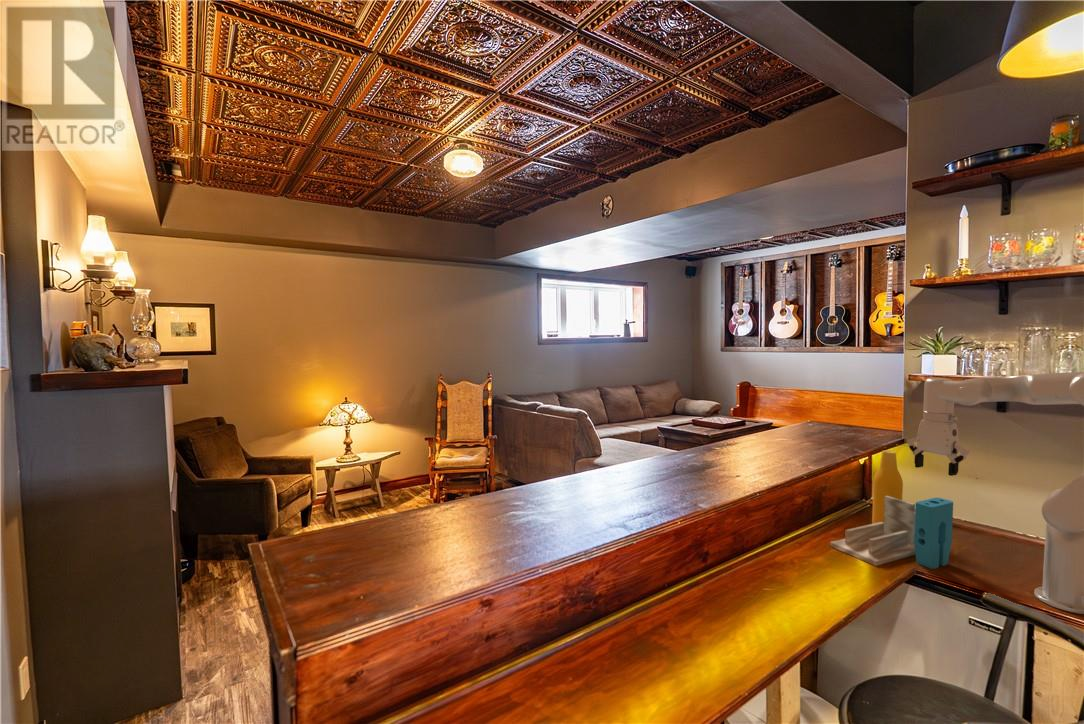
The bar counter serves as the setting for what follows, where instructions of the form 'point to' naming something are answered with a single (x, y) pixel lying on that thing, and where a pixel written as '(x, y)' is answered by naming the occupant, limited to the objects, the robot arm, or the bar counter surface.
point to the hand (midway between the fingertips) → (935, 470)
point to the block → (933, 532)
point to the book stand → (882, 535)
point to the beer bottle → (886, 484)
